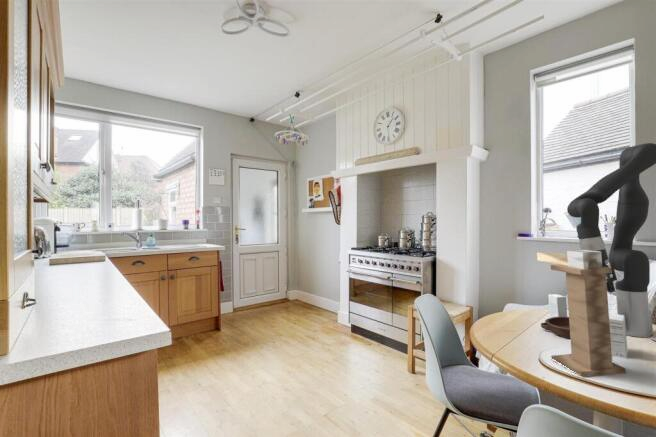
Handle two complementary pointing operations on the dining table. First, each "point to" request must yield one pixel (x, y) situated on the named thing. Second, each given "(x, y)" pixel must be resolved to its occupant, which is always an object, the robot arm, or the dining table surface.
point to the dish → (558, 326)
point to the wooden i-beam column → (588, 322)
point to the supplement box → (618, 335)
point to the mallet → (574, 259)
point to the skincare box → (557, 305)
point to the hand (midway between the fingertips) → (603, 290)
